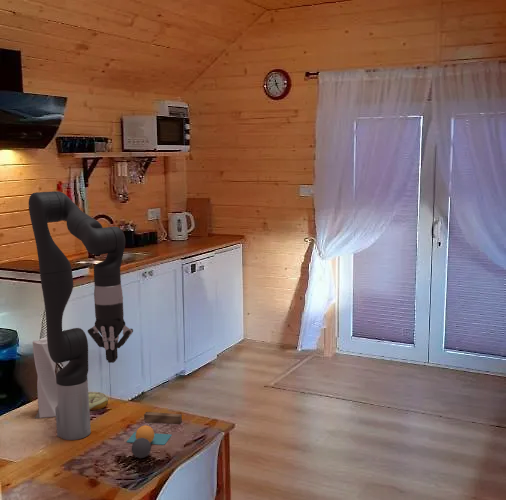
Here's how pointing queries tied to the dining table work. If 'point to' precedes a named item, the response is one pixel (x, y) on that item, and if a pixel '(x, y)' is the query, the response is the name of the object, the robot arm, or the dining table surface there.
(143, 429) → the orange ball
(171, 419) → the walnut strip
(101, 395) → the decorated donut
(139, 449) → the gray ball
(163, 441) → the teal mark
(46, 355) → the skyscraper
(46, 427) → the dining table surface
